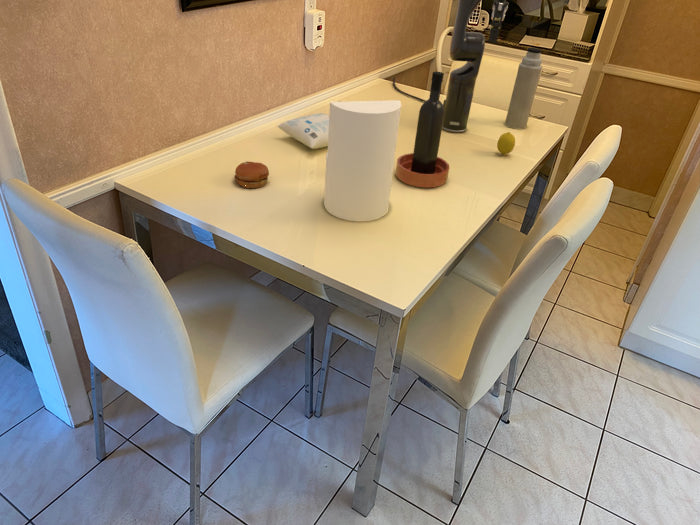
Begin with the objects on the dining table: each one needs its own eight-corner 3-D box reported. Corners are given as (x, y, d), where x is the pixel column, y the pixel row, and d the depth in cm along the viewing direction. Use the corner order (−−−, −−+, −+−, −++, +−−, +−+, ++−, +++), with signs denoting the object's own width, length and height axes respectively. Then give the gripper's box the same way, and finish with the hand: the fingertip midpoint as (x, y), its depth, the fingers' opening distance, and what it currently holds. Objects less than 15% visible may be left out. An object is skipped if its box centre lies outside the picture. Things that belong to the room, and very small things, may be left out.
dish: (385, 171, 159) (387, 157, 156) (425, 163, 166) (427, 150, 163) (415, 193, 148) (417, 178, 145) (457, 183, 155) (460, 169, 152)
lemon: (512, 159, 173) (518, 136, 168) (495, 157, 174) (500, 133, 169) (511, 153, 177) (517, 130, 173) (494, 150, 178) (500, 128, 174)
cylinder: (397, 218, 135) (412, 112, 119) (333, 224, 131) (339, 114, 115) (376, 188, 149) (387, 89, 133) (317, 192, 144) (321, 90, 128)
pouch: (311, 134, 158) (360, 120, 169) (275, 117, 170) (323, 104, 181) (312, 158, 163) (359, 143, 174) (277, 140, 175) (323, 127, 186)
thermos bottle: (505, 120, 205) (524, 44, 189) (526, 123, 203) (546, 48, 187) (504, 126, 199) (522, 49, 183) (525, 130, 197) (546, 52, 181)
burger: (253, 192, 142) (252, 176, 139) (227, 182, 146) (226, 166, 143) (276, 180, 149) (276, 164, 146) (251, 171, 153) (250, 156, 150)
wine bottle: (420, 169, 160) (436, 68, 143) (435, 176, 157) (453, 74, 139) (408, 174, 156) (423, 71, 139) (423, 181, 153) (440, 77, 136)
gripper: (493, -30, 146) (481, 32, 156) (491, -24, 135) (478, 42, 144) (521, -27, 145) (506, 35, 154) (521, -21, 133) (505, 46, 143)
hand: (493, 39), depth 149 cm, fingers open, 8 cm apart
